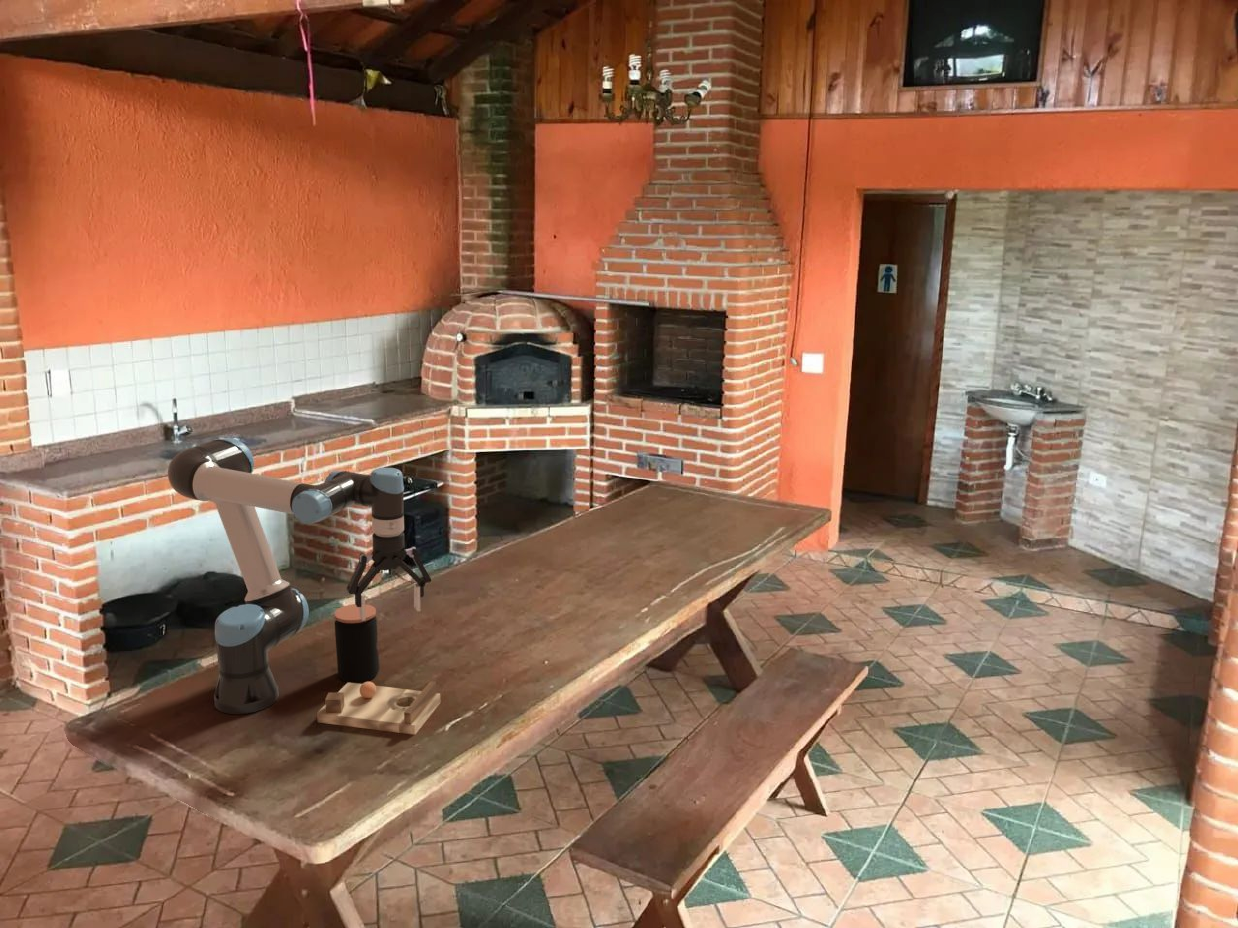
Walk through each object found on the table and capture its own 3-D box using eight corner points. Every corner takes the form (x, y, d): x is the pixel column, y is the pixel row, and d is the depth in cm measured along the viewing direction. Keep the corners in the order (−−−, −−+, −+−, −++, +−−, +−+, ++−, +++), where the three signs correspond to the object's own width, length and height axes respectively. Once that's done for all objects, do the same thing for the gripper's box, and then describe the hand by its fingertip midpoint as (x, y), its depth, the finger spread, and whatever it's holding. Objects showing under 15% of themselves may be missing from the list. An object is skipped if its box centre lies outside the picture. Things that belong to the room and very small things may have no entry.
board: (317, 722, 243) (316, 701, 242) (348, 691, 258) (347, 671, 257) (415, 734, 238) (414, 713, 237) (440, 702, 253) (439, 682, 252)
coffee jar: (387, 674, 267) (384, 611, 263) (352, 688, 260) (348, 623, 255) (365, 662, 275) (361, 600, 270) (330, 675, 267) (325, 611, 262)
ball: (357, 700, 249) (356, 685, 248) (364, 692, 253) (363, 678, 252) (372, 702, 248) (371, 687, 247) (379, 694, 252) (378, 679, 251)
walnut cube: (326, 713, 242) (325, 699, 242) (329, 706, 246) (328, 692, 245) (341, 713, 243) (340, 699, 242) (344, 705, 246) (343, 692, 245)
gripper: (339, 544, 234) (342, 628, 240) (443, 530, 245) (444, 611, 251) (332, 533, 240) (335, 616, 246) (433, 521, 252) (434, 600, 257)
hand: (390, 613), depth 249 cm, fingers open, 13 cm apart
